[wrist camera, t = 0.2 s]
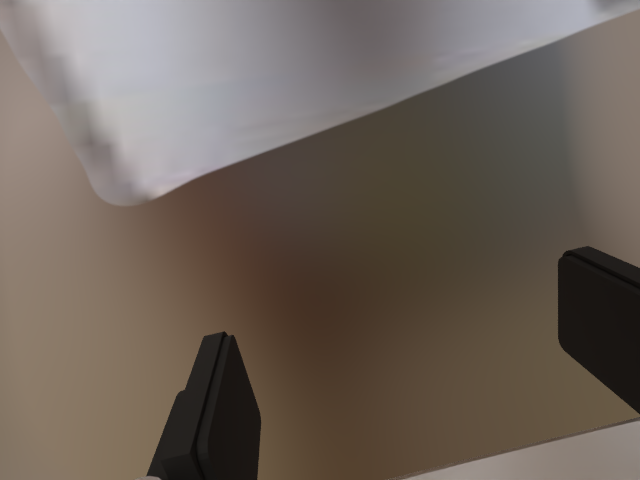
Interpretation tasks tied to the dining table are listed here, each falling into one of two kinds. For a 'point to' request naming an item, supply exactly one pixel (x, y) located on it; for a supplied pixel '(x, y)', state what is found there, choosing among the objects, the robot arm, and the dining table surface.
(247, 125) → the dining table surface
